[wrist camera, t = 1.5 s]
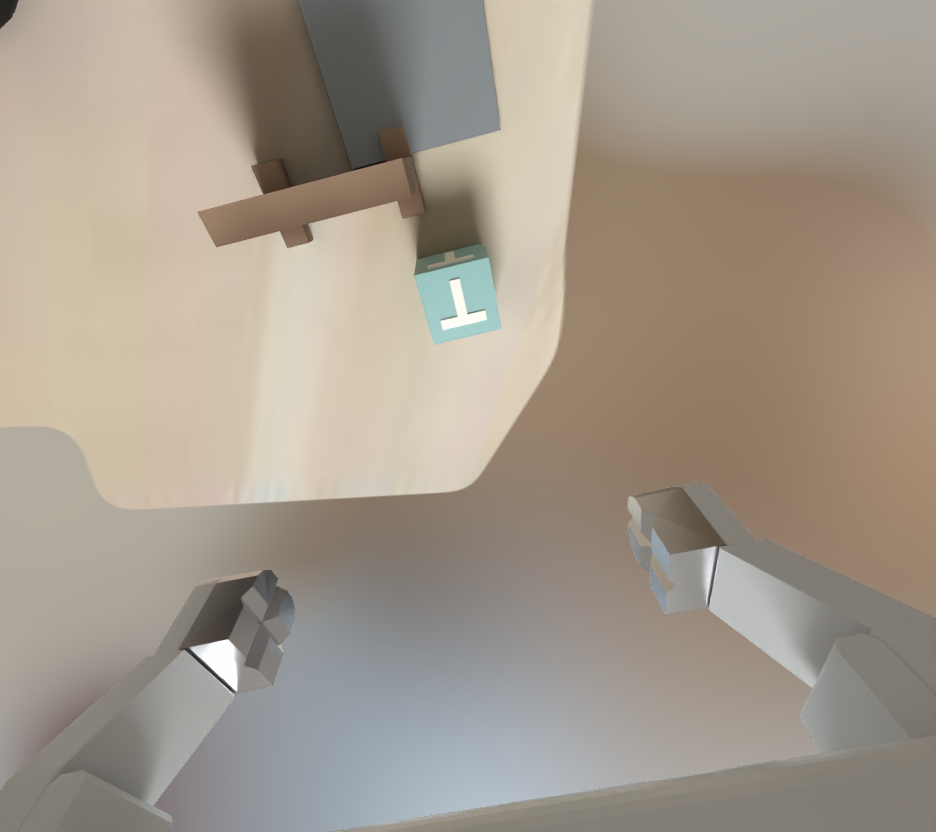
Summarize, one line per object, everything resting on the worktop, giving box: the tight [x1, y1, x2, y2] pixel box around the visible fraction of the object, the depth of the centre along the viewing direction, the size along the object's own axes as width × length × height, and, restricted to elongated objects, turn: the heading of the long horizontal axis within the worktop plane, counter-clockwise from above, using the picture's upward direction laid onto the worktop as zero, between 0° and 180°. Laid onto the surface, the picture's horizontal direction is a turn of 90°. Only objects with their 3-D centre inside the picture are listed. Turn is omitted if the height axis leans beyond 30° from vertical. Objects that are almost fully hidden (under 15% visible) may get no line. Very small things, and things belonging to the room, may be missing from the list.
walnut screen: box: [198, 125, 425, 248], centre depth 23 cm, size 5×10×10 cm, turn 102°
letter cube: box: [414, 243, 502, 345], centre depth 29 cm, size 5×5×5 cm
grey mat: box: [298, 0, 500, 169], centre depth 23 cm, size 10×10×1 cm
